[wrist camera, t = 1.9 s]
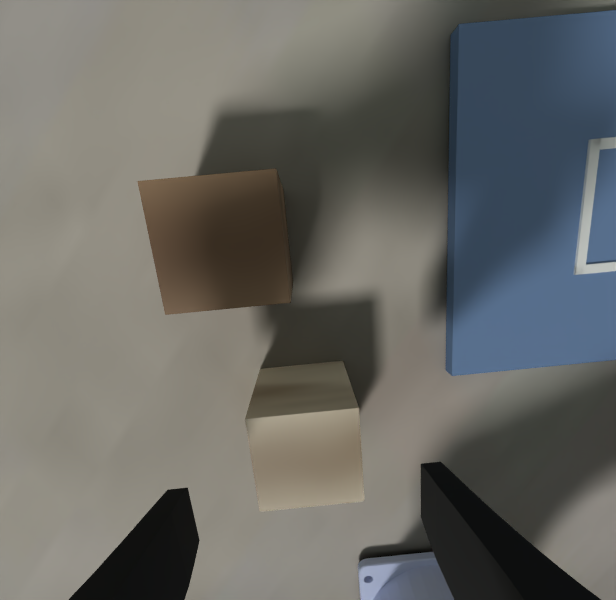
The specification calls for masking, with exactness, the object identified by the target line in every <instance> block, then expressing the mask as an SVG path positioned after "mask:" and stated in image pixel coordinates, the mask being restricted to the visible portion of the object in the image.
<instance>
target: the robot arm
mask: <svg viewBox="0 0 616 600" xmlns="http://www.w3.org/2000/svg"><path fill="white" fill-rule="evenodd" d="M421 518H422V521H423V524H424V527H425V530H426V533H427V536H428V539H429V541H430V544H431V547H432V550H433V552H425V553H415V554H405V555H396V556H386V557H376V558H366V559H363V560H361V561H360V562H359V564H358V577H359V591H360V600H601V599H599V598H598V597H597V596H595V595H594V594H593V593H591V592H590V591H589V590H587V589H586V588H585V587H583V586H582V585H581V584H580V583H578V582H577V581H576V580H575V579H573V578H572V577H571V576H570V575H568V574H567V573H566V572H564V571H563V570H562V569H561V568H559V567H558V566H557V565H556V564H555V563H553V562H552V561H551V560H550V559H549V558H547V557H546V556H545V555H544V554H542V553H541V552H540V551H539V550H538V549H536V548H535V547H534V546H533V545H532V544H531V543H529V542H528V541H527V540H526V539H525V538H524V537H522V536H521V535H520V534H519V533H518V532H517V531H515V530H514V529H513V528H512V527H511V526H510V525H509V524H508V523H506V522H505V521H504V520H503V519H502V518H501V517H500V516H498V515H497V514H496V513H495V512H494V511H493V510H492V509H491V508H490V507H488V506H487V505H486V504H485V503H484V502H483V501H482V500H481V499H480V498H479V497H478V496H477V495H475V494H474V493H473V492H472V491H471V490H470V489H469V488H468V487H467V486H466V485H465V484H464V483H463V482H462V481H461V480H460V479H458V478H457V477H456V476H455V475H454V474H453V473H452V472H451V471H450V470H449V469H448V468H447V467H446V466H445V465H444V464H442V463H441V462H434V463H424V464H421ZM198 545H199V536H198V532H197V527H196V523H195V519H194V514H193V510H192V505H191V501H190V496H189V492H188V488H180V489H171V490H167V491H166V492H165V493H164V495H163V496H162V497H161V498H160V499H159V500H158V501H157V502H156V504H155V505H154V506H153V507H152V508H151V509H150V510H149V512H148V513H147V514H146V515H145V516H144V517H143V518H142V520H141V521H140V522H139V523H138V524H137V525H136V526H135V528H134V529H133V530H132V531H131V532H130V533H129V534H128V536H127V537H126V538H125V539H124V540H123V541H122V542H121V543H120V545H119V546H118V547H117V548H116V549H115V550H114V551H113V552H112V553H111V555H110V556H109V557H108V558H107V559H106V560H105V561H104V562H103V563H102V565H101V566H100V567H99V568H98V569H97V570H96V571H95V572H94V573H93V574H92V575H91V577H90V578H89V579H88V580H87V581H86V582H85V583H84V584H83V585H82V586H81V587H80V588H79V589H78V590H77V591H76V592H75V593H74V594H73V595H72V597H71V598H70V599H69V600H184V599H185V596H186V593H187V590H188V587H189V583H190V579H191V575H192V571H193V567H194V563H195V558H196V554H197V549H198Z"/></svg>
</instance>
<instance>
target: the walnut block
mask: <svg viewBox="0 0 616 600" xmlns="http://www.w3.org/2000/svg"><path fill="white" fill-rule="evenodd" d="M138 186H139V191H140V195H141V200H142V205H143V210H144V215H145V219H146V224H147V229H148V234H149V239H150V244H151V248H152V253H153V258H154V263H155V268H156V272H157V277H158V282H159V287H160V292H161V296H162V301H163V306H164V311H165V315H168V314H178V313H189V312H199V311H209V310H220V309H230V308H240V307H251V306H261V305H272V304H282V303H291V295H292V287H293V278H292V268H291V259H290V249H289V239H288V230H287V220H286V211H285V201H284V192H283V187H282V184H281V181H280V179H279V176H278V173H277V170H276V169H265V170H254V171H243V172H232V173H222V174H211V175H200V176H189V177H178V178H167V179H156V180H145V181H138Z"/></svg>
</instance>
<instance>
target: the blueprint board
mask: <svg viewBox="0 0 616 600" xmlns="http://www.w3.org/2000/svg"><path fill="white" fill-rule="evenodd" d="M609 360H616V10H611V11H600V12H589V13H577V14H566V15H555V16H543V17H532V18H521V19H509V20H498V21H487V22H475V23H464V24H459V25H458V26H457V27H456V29H455V30H454V31H453V33H452V34H451V46H450V113H449V181H448V248H447V315H446V371H447V372H448V373H449V374H450V375H452V376H456V375H466V374H476V373H487V372H497V371H507V370H517V369H527V368H537V367H548V366H558V365H568V364H578V363H588V362H599V361H609Z"/></svg>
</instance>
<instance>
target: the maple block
mask: <svg viewBox="0 0 616 600" xmlns="http://www.w3.org/2000/svg"><path fill="white" fill-rule="evenodd" d="M245 422H246V428H247V434H248V441H249V447H250V453H251V460H252V466H253V472H254V479H255V485H256V491H257V497H258V504H259V510H260V512H263V511H273V510H283V509H293V508H303V507H313V506H323V505H333V504H343V503H353V502H363V501H364V486H363V469H362V452H361V435H360V418H359V407H358V404H357V401H356V398H355V395H354V392H353V389H352V386H351V383H350V380H349V377H348V375H347V372H346V369H345V366H344V363H343V361H334V362H324V363H314V364H304V365H293V366H283V367H273V368H263V369H260V371H259V374H258V378H257V381H256V384H255V388H254V391H253V394H252V398H251V401H250V404H249V408H248V411H247V414H246V418H245Z"/></svg>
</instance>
